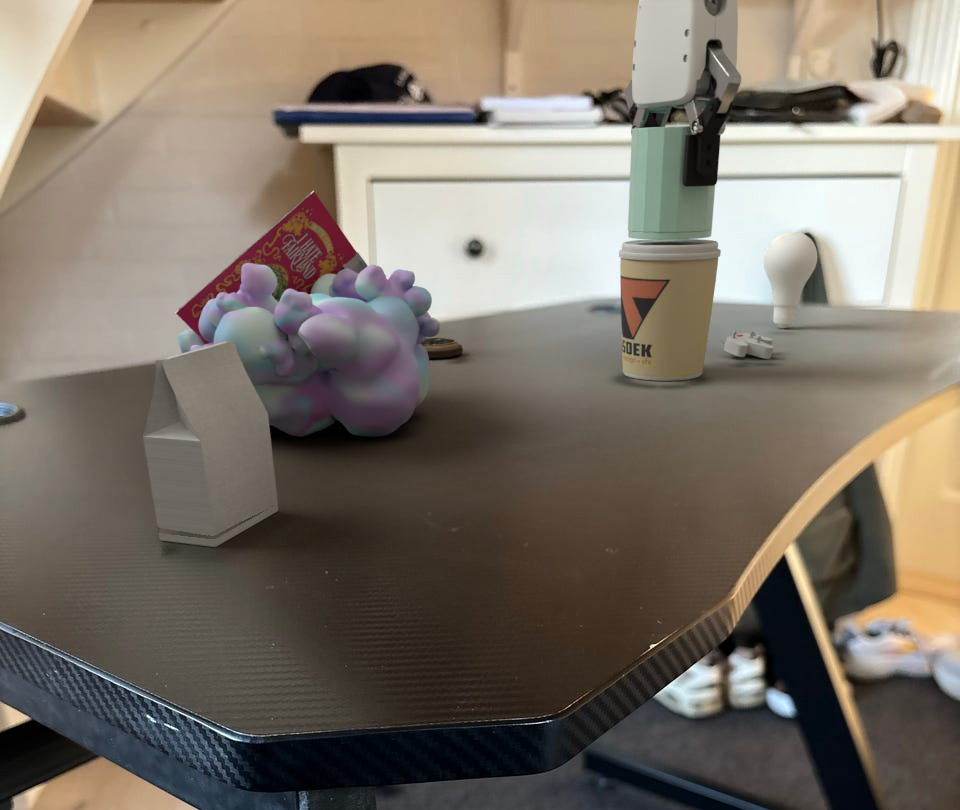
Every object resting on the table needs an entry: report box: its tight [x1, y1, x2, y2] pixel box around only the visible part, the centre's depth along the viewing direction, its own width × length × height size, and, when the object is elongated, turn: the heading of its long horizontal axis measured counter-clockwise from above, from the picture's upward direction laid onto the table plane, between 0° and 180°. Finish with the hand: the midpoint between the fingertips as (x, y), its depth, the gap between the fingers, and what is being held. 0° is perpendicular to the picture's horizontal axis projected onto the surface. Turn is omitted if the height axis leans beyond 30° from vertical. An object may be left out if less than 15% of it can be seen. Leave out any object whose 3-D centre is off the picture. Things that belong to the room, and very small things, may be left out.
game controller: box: [713, 330, 774, 360], centre depth 107 cm, size 6×12×3 cm, turn 61°
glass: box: [627, 125, 716, 240], centre depth 91 cm, size 8×8×9 cm
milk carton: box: [142, 341, 279, 548], centre depth 57 cm, size 4×7×10 cm, turn 160°
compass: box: [420, 337, 464, 359], centre depth 110 cm, size 8×8×7 cm
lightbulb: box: [763, 231, 818, 329], centre depth 121 cm, size 6×6×11 cm
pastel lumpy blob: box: [175, 190, 441, 438], centre depth 79 cm, size 20×22×18 cm
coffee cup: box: [618, 238, 722, 382], centre depth 96 cm, size 9×9×12 cm
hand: (672, 184), depth 91 cm, fingers closed on glass, 7 cm apart
